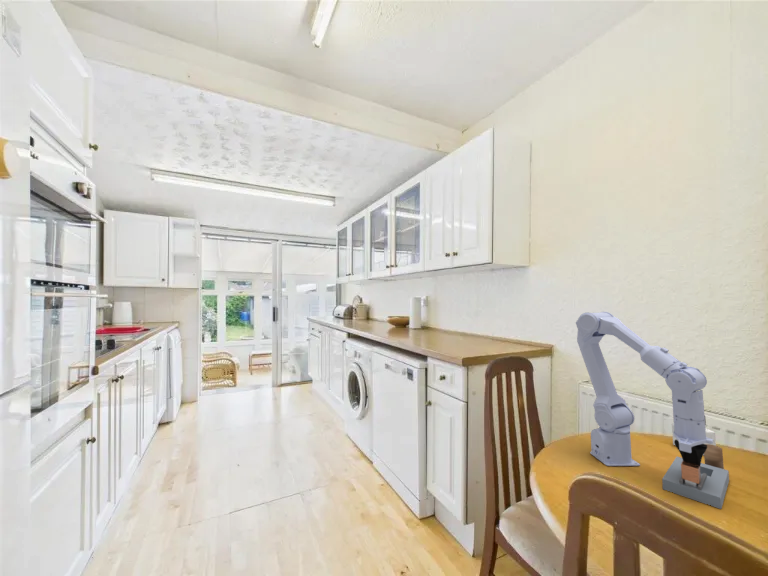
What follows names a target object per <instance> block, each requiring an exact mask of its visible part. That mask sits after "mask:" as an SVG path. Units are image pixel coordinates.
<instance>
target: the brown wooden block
mask: <svg viewBox="0 0 768 576" xmlns="http://www.w3.org/2000/svg"><path fill="white" fill-rule="evenodd" d="M705 445H707V449H706V451H705V453H704V455H703V459H704V464H706V465H710V466H714V467H717V468H721V469H725V467H724V457H723V454H724V453H723V448H722V447H721V446H717V445H716V446H715V445H710V444H705Z"/></svg>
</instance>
